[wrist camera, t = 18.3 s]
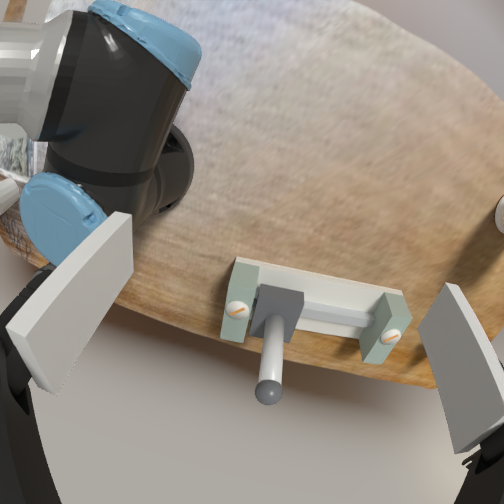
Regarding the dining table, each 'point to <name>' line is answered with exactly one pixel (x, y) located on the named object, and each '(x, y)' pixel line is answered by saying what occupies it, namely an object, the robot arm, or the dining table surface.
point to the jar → (500, 215)
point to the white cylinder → (8, 194)
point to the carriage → (274, 335)
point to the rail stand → (321, 306)
